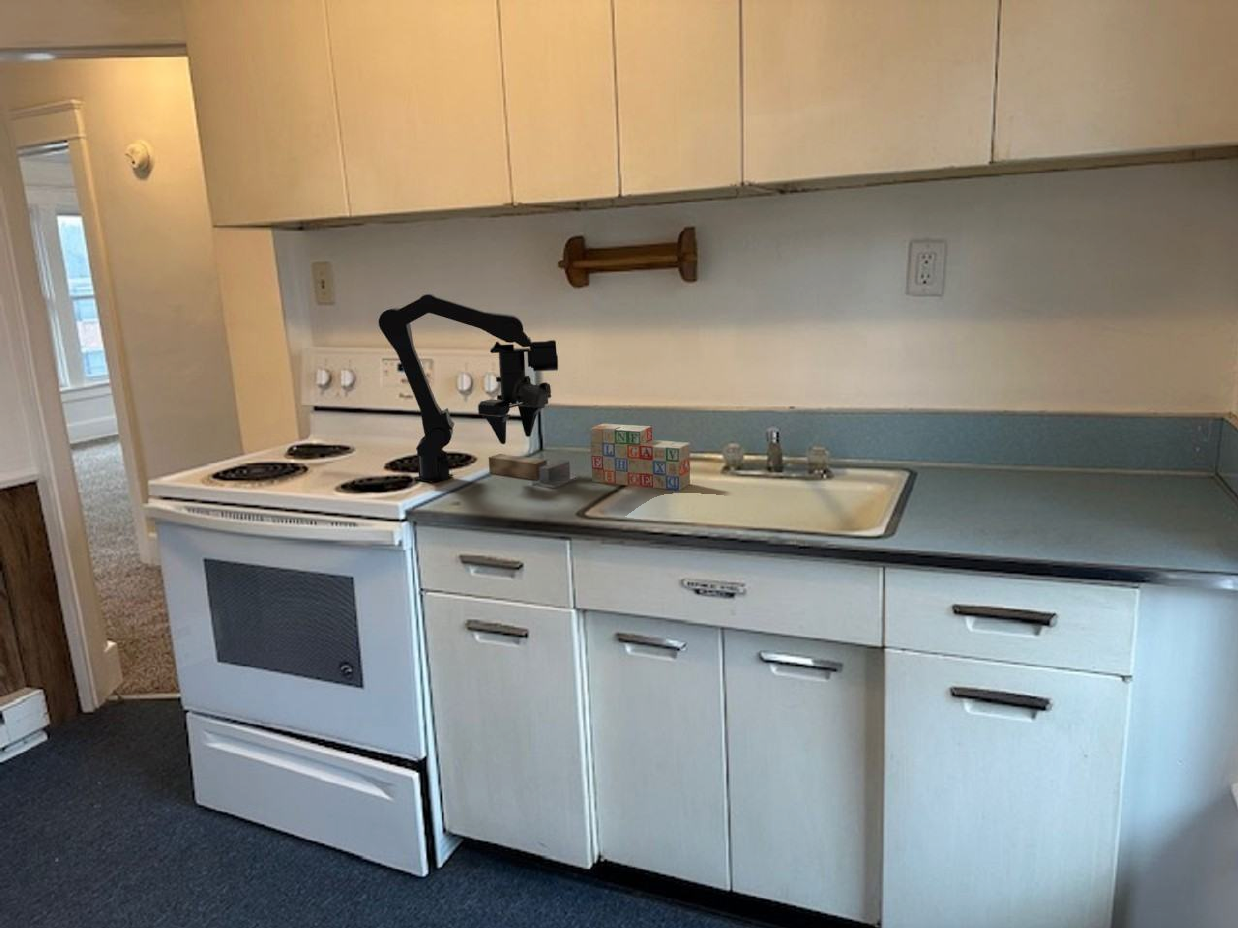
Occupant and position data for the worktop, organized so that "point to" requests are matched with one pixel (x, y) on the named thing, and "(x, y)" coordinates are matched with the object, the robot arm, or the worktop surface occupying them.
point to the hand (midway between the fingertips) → (515, 440)
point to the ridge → (555, 475)
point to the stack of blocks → (638, 458)
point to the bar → (516, 466)
